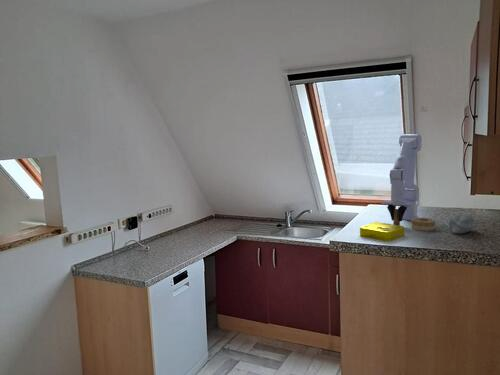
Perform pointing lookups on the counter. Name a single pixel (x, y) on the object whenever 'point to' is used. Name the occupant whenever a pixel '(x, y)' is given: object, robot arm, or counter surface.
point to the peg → (396, 217)
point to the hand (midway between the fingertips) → (396, 220)
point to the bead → (423, 224)
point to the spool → (461, 223)
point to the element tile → (382, 231)
